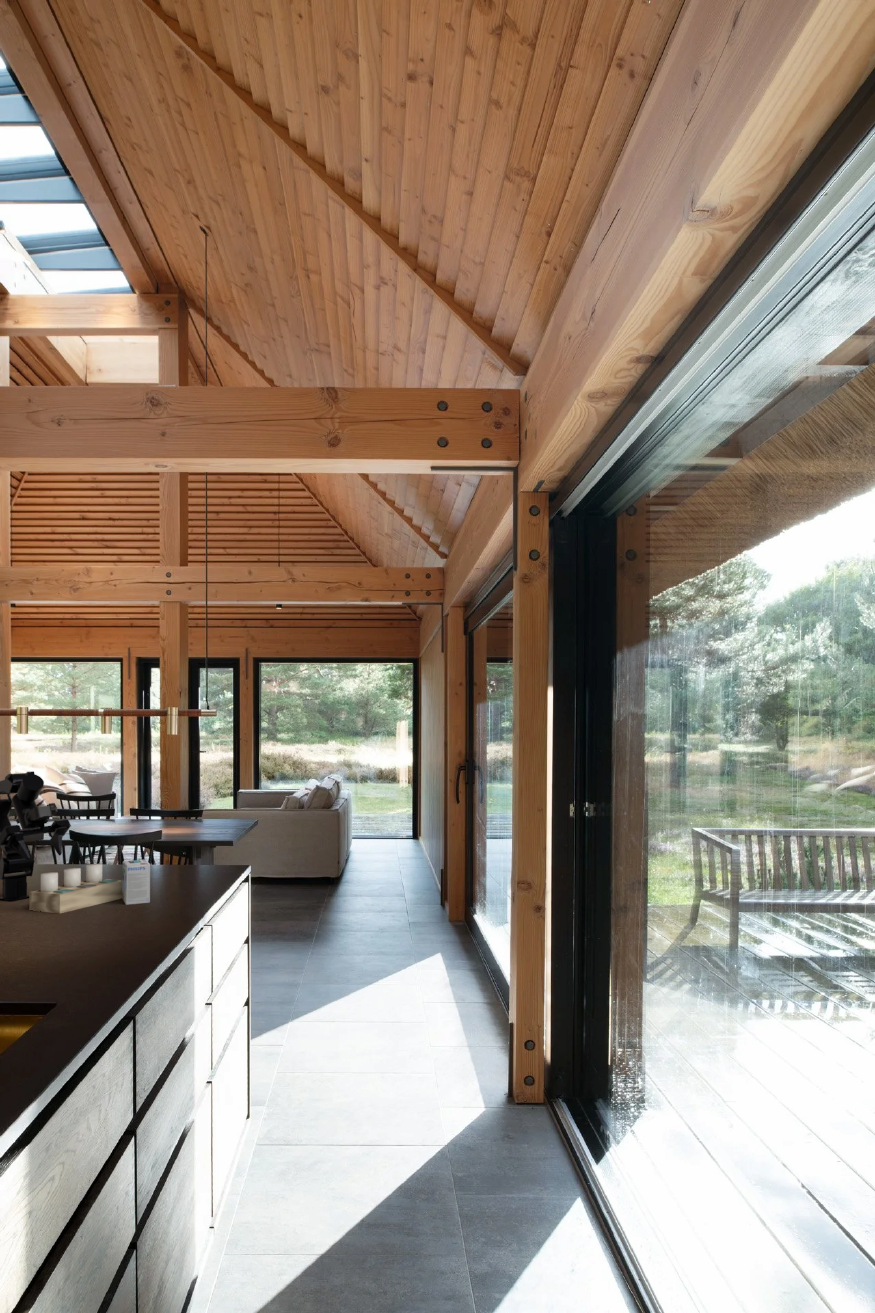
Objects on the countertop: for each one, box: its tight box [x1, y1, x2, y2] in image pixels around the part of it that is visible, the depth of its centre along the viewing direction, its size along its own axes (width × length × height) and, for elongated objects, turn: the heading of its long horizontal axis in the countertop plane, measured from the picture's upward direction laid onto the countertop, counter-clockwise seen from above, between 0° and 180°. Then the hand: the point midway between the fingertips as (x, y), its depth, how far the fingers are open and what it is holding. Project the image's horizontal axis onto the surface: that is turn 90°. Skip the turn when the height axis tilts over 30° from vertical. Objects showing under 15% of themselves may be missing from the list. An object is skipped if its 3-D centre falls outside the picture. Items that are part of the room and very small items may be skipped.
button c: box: [85, 863, 103, 883], centre depth 268 cm, size 4×4×7 cm
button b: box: [63, 867, 82, 888], centre depth 261 cm, size 4×4×7 cm
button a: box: [40, 871, 59, 893], centre depth 253 cm, size 4×4×7 cm
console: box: [28, 878, 123, 914], centre depth 259 cm, size 12×23×5 cm, turn 154°
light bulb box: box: [122, 859, 151, 906], centre depth 263 cm, size 11×7×11 cm, turn 25°
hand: (44, 857), depth 257 cm, fingers open, 9 cm apart
